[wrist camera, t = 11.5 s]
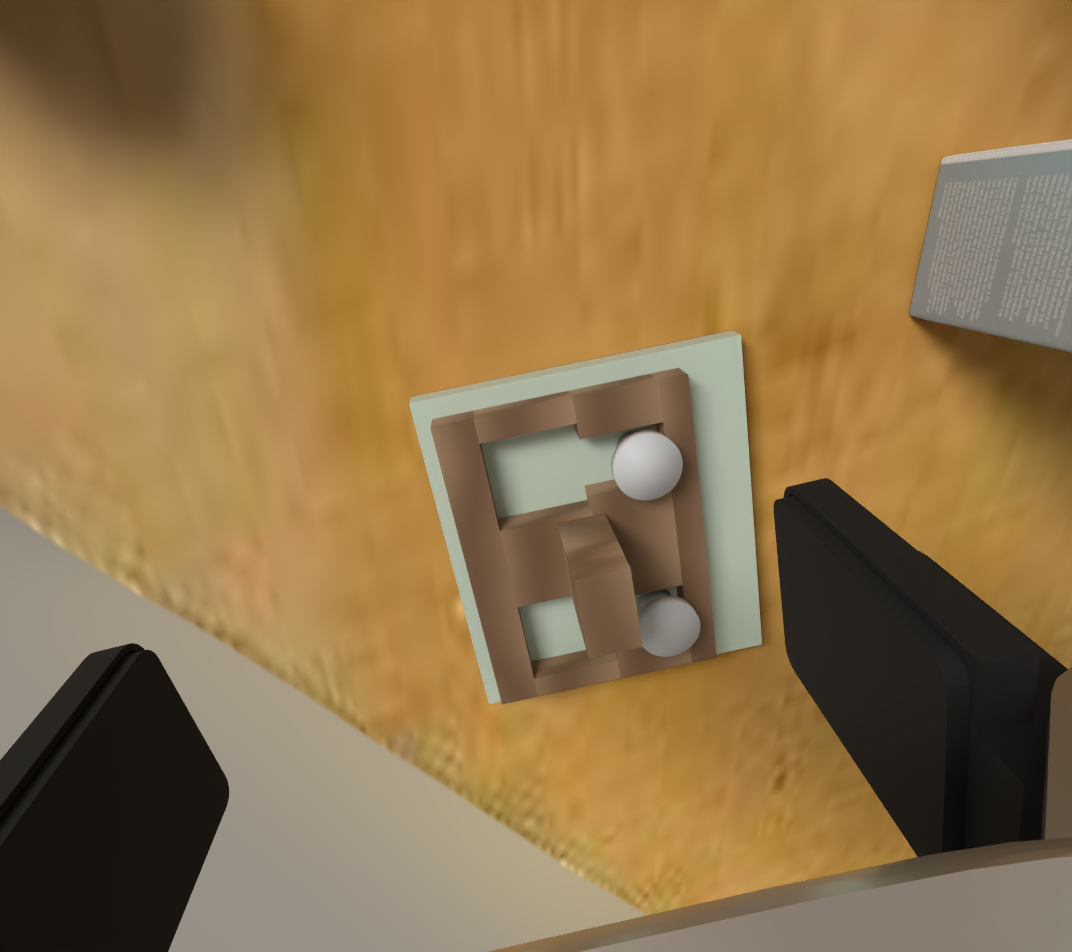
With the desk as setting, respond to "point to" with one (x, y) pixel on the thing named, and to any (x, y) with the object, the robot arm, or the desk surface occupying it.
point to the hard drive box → (1001, 245)
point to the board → (591, 464)
